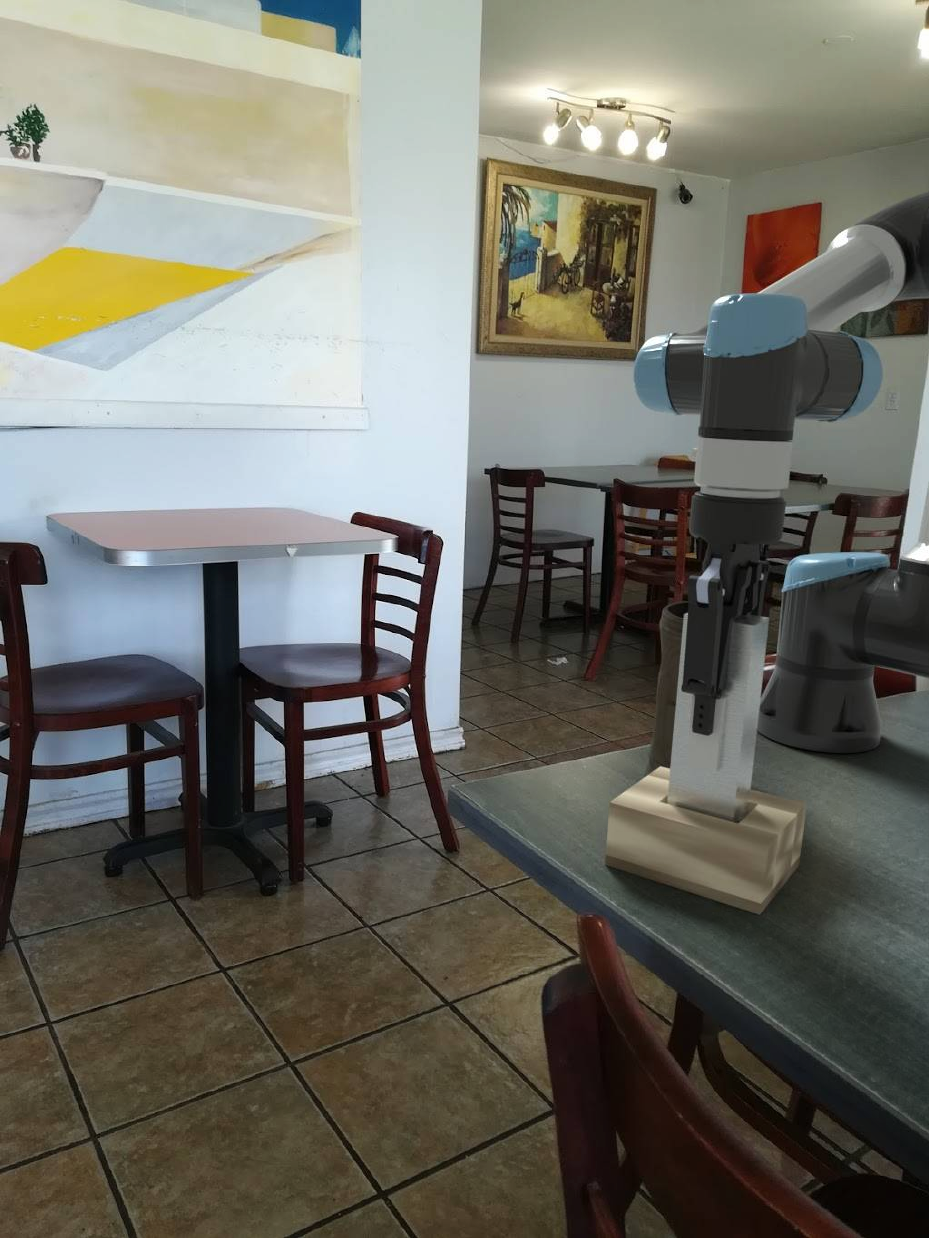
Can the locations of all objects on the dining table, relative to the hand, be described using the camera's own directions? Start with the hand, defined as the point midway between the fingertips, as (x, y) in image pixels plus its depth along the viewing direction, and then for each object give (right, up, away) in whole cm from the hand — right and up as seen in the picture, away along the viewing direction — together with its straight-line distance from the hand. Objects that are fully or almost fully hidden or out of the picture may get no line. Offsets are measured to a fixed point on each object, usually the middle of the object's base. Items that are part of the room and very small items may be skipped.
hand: (712, 759), depth 86 cm
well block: (0, -10, +2) cm, 10 cm away
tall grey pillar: (0, -5, +1) cm, 5 cm away
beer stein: (+3, -6, +21) cm, 22 cm away
